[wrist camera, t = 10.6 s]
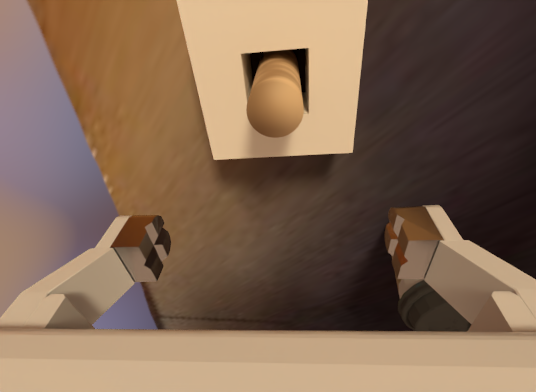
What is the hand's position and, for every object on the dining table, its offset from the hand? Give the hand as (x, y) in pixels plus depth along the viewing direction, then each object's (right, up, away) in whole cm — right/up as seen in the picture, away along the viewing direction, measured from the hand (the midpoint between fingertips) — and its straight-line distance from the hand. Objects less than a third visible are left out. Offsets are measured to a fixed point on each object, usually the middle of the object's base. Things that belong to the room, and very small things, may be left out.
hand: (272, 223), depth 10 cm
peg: (+1, +14, +19) cm, 24 cm away
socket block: (+1, +14, +19) cm, 24 cm away
